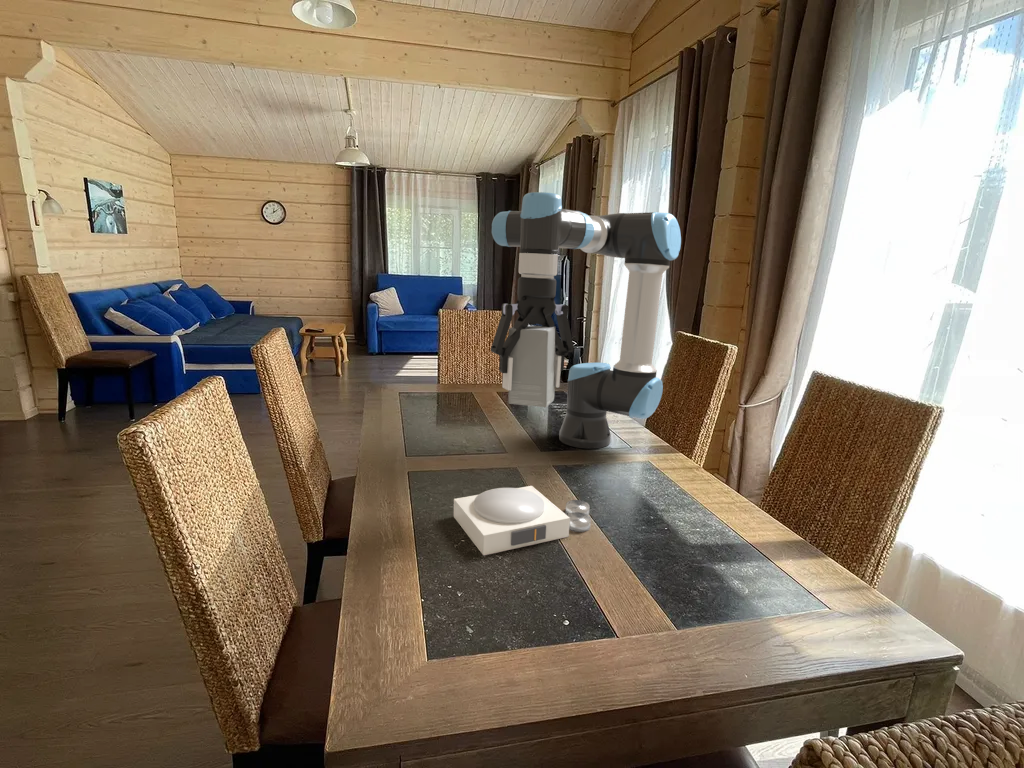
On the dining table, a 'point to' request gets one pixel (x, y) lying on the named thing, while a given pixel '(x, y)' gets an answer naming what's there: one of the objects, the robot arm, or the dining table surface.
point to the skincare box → (533, 367)
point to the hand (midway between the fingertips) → (531, 387)
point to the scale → (510, 519)
